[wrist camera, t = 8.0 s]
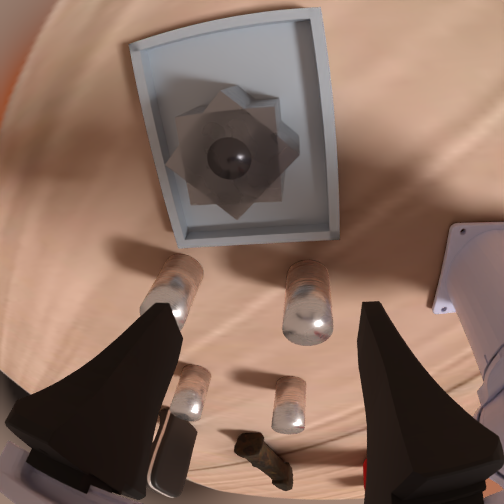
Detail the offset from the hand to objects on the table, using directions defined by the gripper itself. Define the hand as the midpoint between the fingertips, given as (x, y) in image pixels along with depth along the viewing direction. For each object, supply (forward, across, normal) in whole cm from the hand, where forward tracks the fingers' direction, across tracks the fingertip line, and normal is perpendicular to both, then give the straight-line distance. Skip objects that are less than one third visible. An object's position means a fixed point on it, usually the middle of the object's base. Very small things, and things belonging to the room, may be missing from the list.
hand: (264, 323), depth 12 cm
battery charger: (+10, +16, +30) cm, 35 cm away
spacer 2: (+10, +10, +18) cm, 22 cm away
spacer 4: (+10, -1, +5) cm, 11 cm away
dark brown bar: (+10, +3, +40) cm, 42 cm away
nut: (+9, +2, -5) cm, 11 cm away
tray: (+10, +2, -5) cm, 11 cm away
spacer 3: (+10, 0, +19) cm, 21 cm away
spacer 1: (+10, +8, +5) cm, 13 cm away
